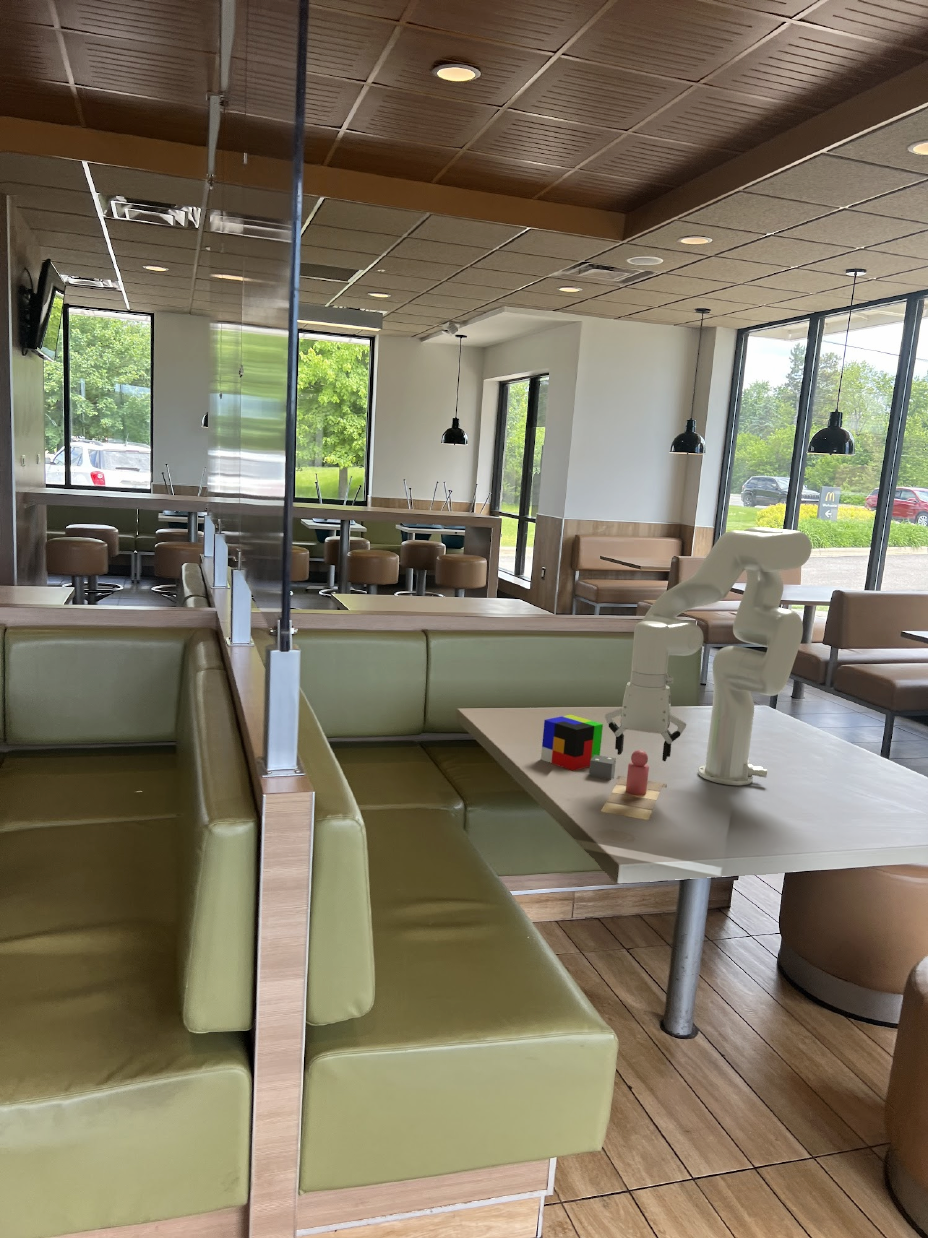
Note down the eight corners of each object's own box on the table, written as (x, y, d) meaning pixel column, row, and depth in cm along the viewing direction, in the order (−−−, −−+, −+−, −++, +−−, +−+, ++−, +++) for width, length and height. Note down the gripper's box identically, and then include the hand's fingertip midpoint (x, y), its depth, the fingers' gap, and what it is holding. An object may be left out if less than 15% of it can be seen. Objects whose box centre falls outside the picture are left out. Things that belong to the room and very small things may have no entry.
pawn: (647, 791, 200) (651, 749, 199) (644, 797, 196) (649, 754, 195) (627, 787, 202) (631, 746, 200) (624, 793, 197) (628, 751, 196)
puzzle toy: (540, 759, 222) (544, 719, 220) (566, 753, 229) (570, 714, 227) (573, 771, 215) (577, 729, 213) (598, 764, 222) (602, 724, 220)
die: (613, 779, 211) (616, 757, 210) (610, 785, 206) (612, 763, 206) (592, 775, 213) (594, 754, 212) (588, 781, 208) (590, 760, 207)
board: (666, 788, 207) (666, 783, 207) (650, 827, 182) (651, 822, 181) (617, 780, 210) (618, 774, 210) (596, 817, 185) (596, 811, 185)
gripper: (691, 680, 196) (684, 757, 199) (611, 671, 201) (605, 746, 204) (688, 688, 189) (681, 767, 192) (605, 678, 194) (599, 755, 197)
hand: (642, 756), depth 198 cm, fingers open, 9 cm apart
